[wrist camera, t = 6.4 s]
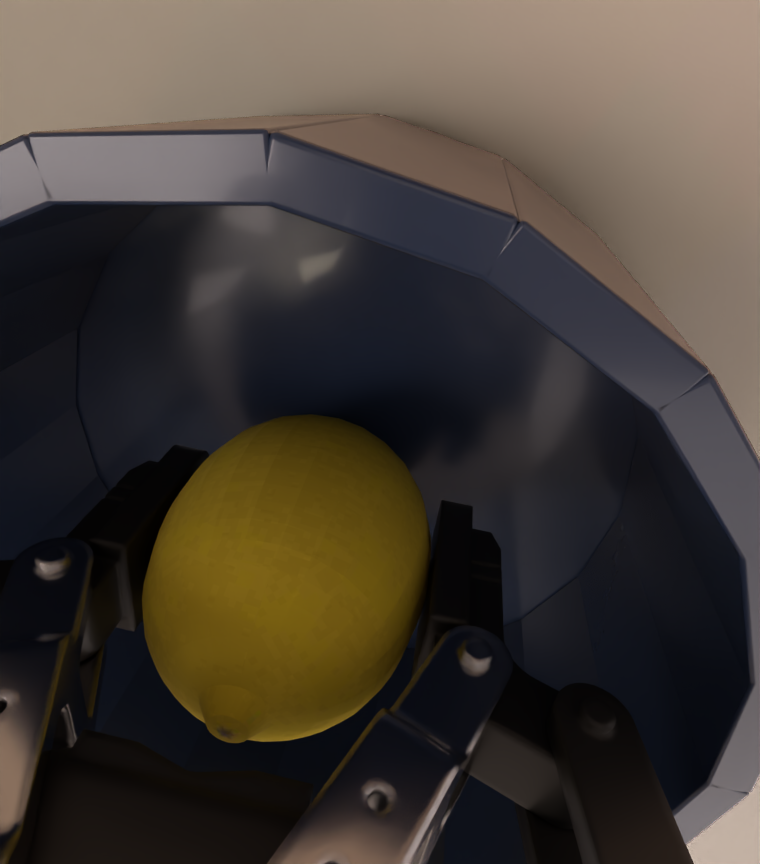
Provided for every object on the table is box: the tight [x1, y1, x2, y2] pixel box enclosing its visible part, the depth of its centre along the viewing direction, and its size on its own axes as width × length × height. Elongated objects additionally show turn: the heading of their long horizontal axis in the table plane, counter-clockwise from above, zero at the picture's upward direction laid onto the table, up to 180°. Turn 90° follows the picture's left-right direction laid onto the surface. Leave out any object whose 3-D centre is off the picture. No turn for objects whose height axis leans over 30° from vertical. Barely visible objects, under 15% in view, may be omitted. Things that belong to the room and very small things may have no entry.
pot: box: [0, 114, 760, 864], centre depth 13 cm, size 16×16×7 cm
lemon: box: [142, 414, 431, 743], centre depth 12 cm, size 6×6×8 cm
